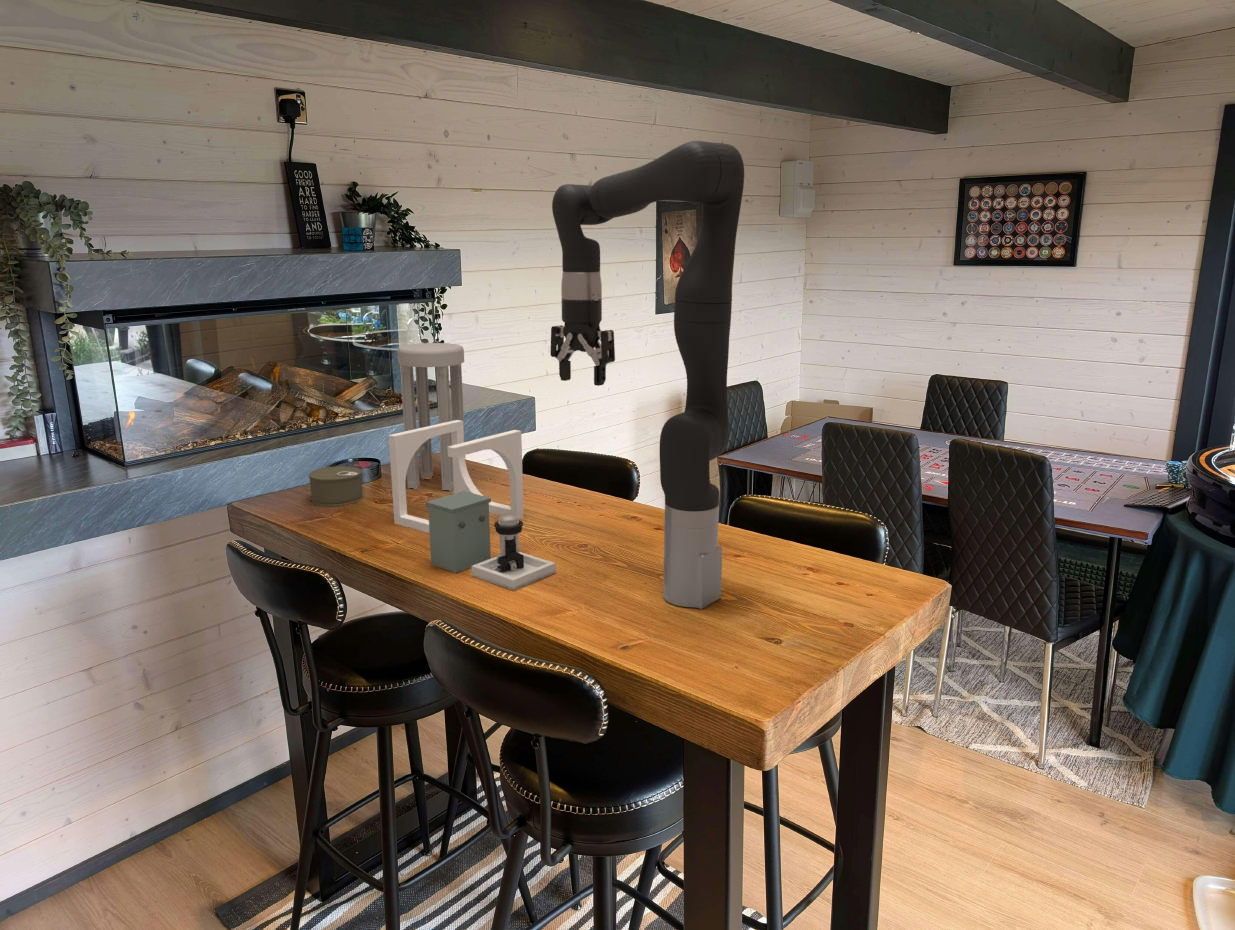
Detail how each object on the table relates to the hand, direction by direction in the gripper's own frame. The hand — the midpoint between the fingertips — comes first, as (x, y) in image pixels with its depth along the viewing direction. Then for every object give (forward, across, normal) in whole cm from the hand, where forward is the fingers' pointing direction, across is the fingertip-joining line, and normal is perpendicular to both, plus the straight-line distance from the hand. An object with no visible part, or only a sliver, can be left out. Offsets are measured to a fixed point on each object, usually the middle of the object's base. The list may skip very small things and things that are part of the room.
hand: (582, 382), depth 169 cm
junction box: (+34, -14, -20) cm, 42 cm away
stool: (+34, -61, +13) cm, 71 cm away
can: (+34, -69, -11) cm, 78 cm away
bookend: (+34, -34, -3) cm, 48 cm away
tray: (+34, -2, -18) cm, 39 cm away
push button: (+34, -3, -18) cm, 38 cm away
